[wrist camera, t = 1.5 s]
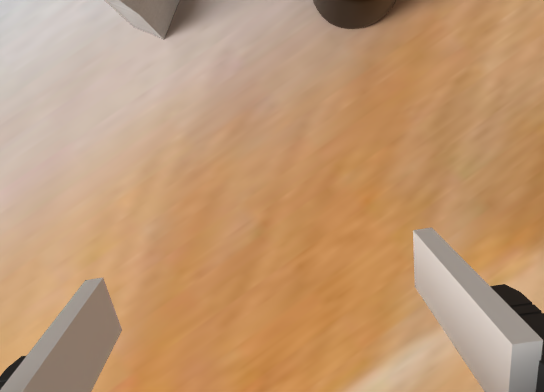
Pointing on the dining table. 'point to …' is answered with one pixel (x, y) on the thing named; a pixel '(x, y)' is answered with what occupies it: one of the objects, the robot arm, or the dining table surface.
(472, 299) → the robot arm
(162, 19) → the tea bag
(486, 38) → the dining table surface
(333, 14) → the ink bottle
